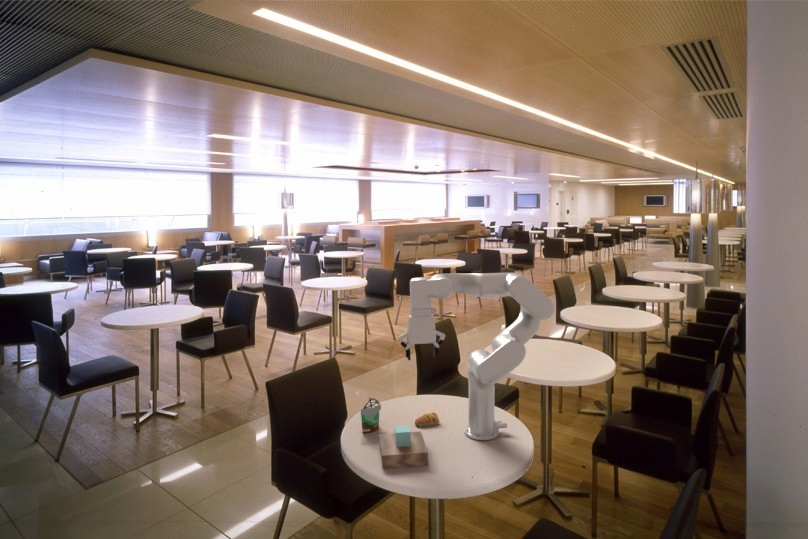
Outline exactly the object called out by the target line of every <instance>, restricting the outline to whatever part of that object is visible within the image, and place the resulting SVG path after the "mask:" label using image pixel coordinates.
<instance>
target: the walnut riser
mask: <svg viewBox="0 0 808 539" xmlns="http://www.w3.org/2000/svg"><path fill="white" fill-rule="evenodd" d="M378 440H379V452H380V460H381V466H382V467H381V469H382V470H385V469H394V468H407V467H408V468H409V467H422V466H423V467H424V466H429V458H428V457H429V454H428V448H427V447H426V446H427V445H426V442H425V439H424V436H423V433H422V431H421V430H420V431H419V430H418V431H411V446H404V447H396V443H395V432H394V433H393V432H392V433H382V434H381V433H380V434H379V439H378Z"/></svg>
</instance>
